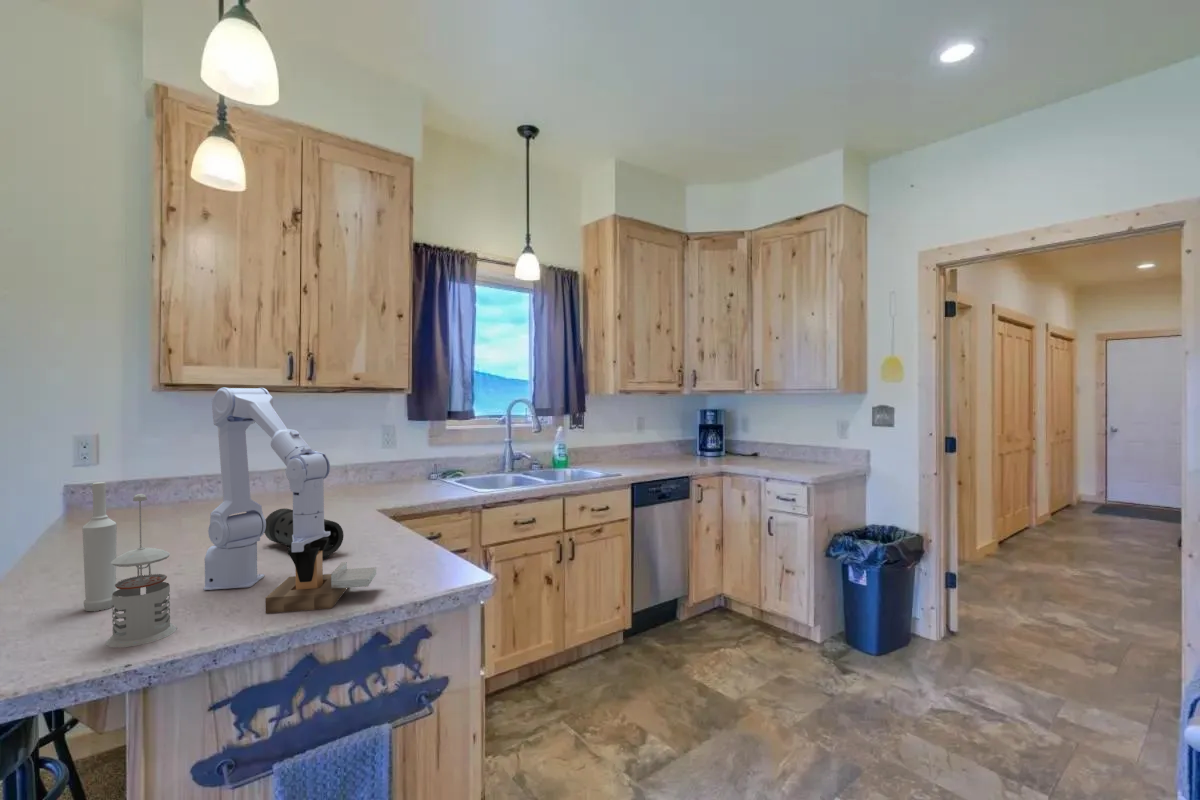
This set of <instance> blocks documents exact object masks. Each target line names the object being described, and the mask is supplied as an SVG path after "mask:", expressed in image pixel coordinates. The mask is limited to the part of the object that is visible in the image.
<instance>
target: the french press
mask: <svg viewBox="0 0 1200 800" xmlns="http://www.w3.org/2000/svg"><path fill="white" fill-rule="evenodd" d="M147 500H148V497H147V495H146V494H144V493H138V494H135V495H134V496H133V498H132V501H133V502H138V504H139V505H138V508H139V512H138V515H139V518H138V519H139V547H138V548H136V549H130V550H128V551H126V552H124V553H122V554H120V555H118V556H116V558H115V559H114V560H113V561H111V563H112V564H113V565H114V566H116V567H119V568H121V567H122V568H127V567H135V568H136V569H137V576H136V575H135V576H132V577H127V578H124V579H121V580H120V581H118V582H116V584H115V587H116V591H115V592H114V593H113V594H112V603H113V605H112V608H111V610H112V612H111V613H112V614H111V615H112V616H111V617H112V621H111V622H112V623H111V624H112V634H111V636H110V637H109V638H108V639H107V640H106V641H105V642H106V643H105V644H107V645H106V646H107V647H110V648H128V647H129V648H130V647H136V646H142V645H145V644H150V643H153V642H156V641H158V640H161V639H164V638H168V637H169V636H170V635H172V634H173V633H175V632H176V630H177V629H178V628H177V626H176V625H175V624H173V623H172V622H171V615H170V614H171V608H170V607H171V601H170V597H171V595H170V592H171V589H170V588H171V587H170V583H169V582H166V581H165V580H167V578H168V576H167V575H166V574H162V573H152V572H151V564H155V563H158V562H162V561H164V560H167V559H168V558H169V557H170V555H171V553H170V552H169V551H167V550H164V549H162V548H155V547H142V502H143V501H147ZM143 565H146V566H143ZM147 568H148V574H144V575H143V569H147ZM142 588H143V589H144V588H145V593H144V594H141V589H142ZM118 612H123V613H118ZM119 619H123V620H120V621H119Z"/></svg>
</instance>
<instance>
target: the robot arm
mask: <svg viewBox="0 0 1200 800" xmlns="http://www.w3.org/2000/svg"><path fill="white" fill-rule="evenodd" d="M273 406H274V398H273V396H272V395H271V394H270V392H269V391H268V389H266V388H264V387H258V388H256V387H253V388H250V387H249V388H248V387H247V388H245V387H244V388H243V387H240V388H239V387H238V388H237V387H235V388H234V387H232V388H231V387H220V388H218V389H217V391H215V394H214V395H213V397H212V398H211V410H212V419H213V426H216V427H217V435H218V448H219V449H218V450H219V461H220V462H219V464H220V475H221V477H220V479H221V490H222V502H221V503H220V504H219V505H218V506H217V507H215V508H214V509H213V510H212V511H211V512H210V519H209V525H208V528H207V529H208V530H207V532H208V538H209V540H210V542H211V543H212V544H213V545H211V546H209V548H207V551H206V553H205V556H204V587H203V591H211V590H227V589H242V588H251V587H252V586H254V585H255V584H256V583H259V581H260V580H261V579H263V578H264V577H265V574H264V573H261V574H259V573H258V542H260V541H261V537H263V536H264V535H265V533H264V532H265V529H266V520H265V519H266V518H265V515H264V514H263V506H262V504H260V503H258V502H257V501H255V500H253V499H252V498H251V488H250V486H251V485H250V473H249V461H248V460H249V459H248V458H249V457H248V445H247V435H246V431H247V429H248V428H249V427H250V426H251V425H253V424H255V423H256V424H257V425H258V426H259V427H260V428H261V429H262V430H263V431H264V433H265V434H267V435H268V436H269V438H271V441H270V447H271V449H272V450H273V451H274V452H275V454H276V455H277V456H278V457H279V459H280V460H281V461H282V462H283V464H284V465H285V466H286V468H285V469H284V470H285V471H284V472H285V476H286V479H287V480H288V485H289V489H290V492H292V510H293V535H292V541H293V542H292V543H291V547H290V548H287V553H288V556H289V557H290V559H291V561H292V562H293V564H294V566H295V567H296V570H297V574H298V578H299V581H300V582H310V581H312V578H313V572H314V564H315V559H316V556H317V553H318V551H322V556H323V553H324V550H325V547H326V545H327V543H328V541H329V538H326V537H328V536H329V535H330V531H325V530H324V519H325V491H324V490H325V489H324V488H325V487H324V485H325V483H324V480H325V479H326V478H327V477H328V476H329V474H330V471H331V463H330V460H329V458H328V457H327V455H326V453H324V452H321V451H317V450H313V449H312V447H311V446H310V445H309V444H308V442H307V441H305V439H304V438H303V437H302V435H301V434H300V432H299V431H298V430H296V429H293V428H291V429H290V428H288V427H287V426H286V425H285V423H284V422H283V420H282V419H281V417H280V416H279V414H278V413H277V412H276V410H275V409H274V407H273ZM322 537H325V538H322ZM295 567H294V568H295Z"/></svg>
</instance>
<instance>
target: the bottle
mask: <svg viewBox="0 0 1200 800" xmlns="http://www.w3.org/2000/svg"><path fill="white" fill-rule="evenodd" d="M91 485H92V487H91V488H92V516H91V517H90V520H89V521H88V522H86V523H85V524H84V525H83V526H82V528H81V529H82V546H83V547H82V548H83V549H82V551H83V572H84V592H85V593H84V596H85V597H84V598H85V599H84V600H83V609H84V611H85V610H86V611H85V612H87V611H94V612H100V611H99V610H101V611H105V610H108V608H109V609H112V605H113V603H112V594H113V593H114V592H115V591H117V588H116V587H115V584H116V583H117V566H114V565H113V564H112V563H111V561H113V560H114V559H115V558H117V526H118V525H117V522H116V521H114V520H113V519H111V518H110V517H109V515H107V501H106V500H107V497H106V495H107V482H106V481H98V482H93V483H92V484H91ZM104 609H105V610H104Z"/></svg>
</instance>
